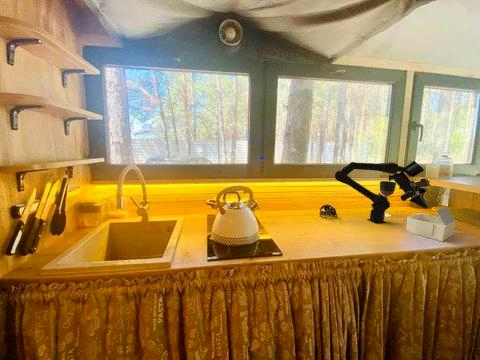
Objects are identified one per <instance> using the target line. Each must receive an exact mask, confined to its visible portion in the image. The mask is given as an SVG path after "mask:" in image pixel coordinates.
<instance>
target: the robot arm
mask: <svg viewBox="0 0 480 360" xmlns="http://www.w3.org/2000/svg"><path fill="white" fill-rule="evenodd" d="M354 170H360V171H361V170H363V171H376V172H382V173H386V174H390V175H388V180H387V181H390V182H392V180H393V182H396V185H397V186H398V189H399V190H402V191H403V193H402V195H400V200H401V201H402V202H406V201H407V200H408V199H409V200H408V202H411V203H413V204H415V205H417V206H419V207H421V208H423V209H425V210H427V209H429V206H428V203H427V202H426V199H425V197H424V196H425V194H426V193H427V192H428V191H429V190H428V189H427V187H431V183H430V182H431V181H430V180H429V179H428V178H427V179H426V178H425V177H424V178H420V180H419V181H416V182H415V180H411V179H410V177H411V178H415V177H416V176H418V175H419V174H421V173H424V172H425V168H423V167H422V165H420V164H419V163H418V162H416V161H415V160H413V161H411V162H410V163H408V164H407V165H405V166H403V165H399V164H397V163H396V162H393V161H389V162H388V161H387V162H380V163H379V162H378V163H375V162H373V163H372V162H371V163H370V162H369V163H368V162H356V161H351V162H349V163H348V164H347V165H346V166H344V167H343V168H341V169H338V170H336V171H335V172H334V179H335V180H336V181H337V182H340V183H342V184H345V185H347V186H349V187H351V188H352V189H354V190H355V191H356V192H358V193H359V194H361V195H363V196H364V197H366V198H367V199H369V200H370V201H371V202H372V203H371V205H370V207H371V208H372V209H371V210H370V216H369V218H367V221H369V222H372V223H375V224H386V223H387V222H386V221H385V217H386V216H385V213H386V211H387V210H388V209H390V207H391V202H390V201H389V198H388V197H387V198H386V197H385V196H384V195H383V194H381V192H378V193H374V192H373V191H371V190H370V189H368V188H367V187H365V186H363V185H362V184H360V183H359V182H357V181H356V180H354V179H352V177H351V176H350V175H349V174H350V173H352V172H353V171H354Z"/></svg>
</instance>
